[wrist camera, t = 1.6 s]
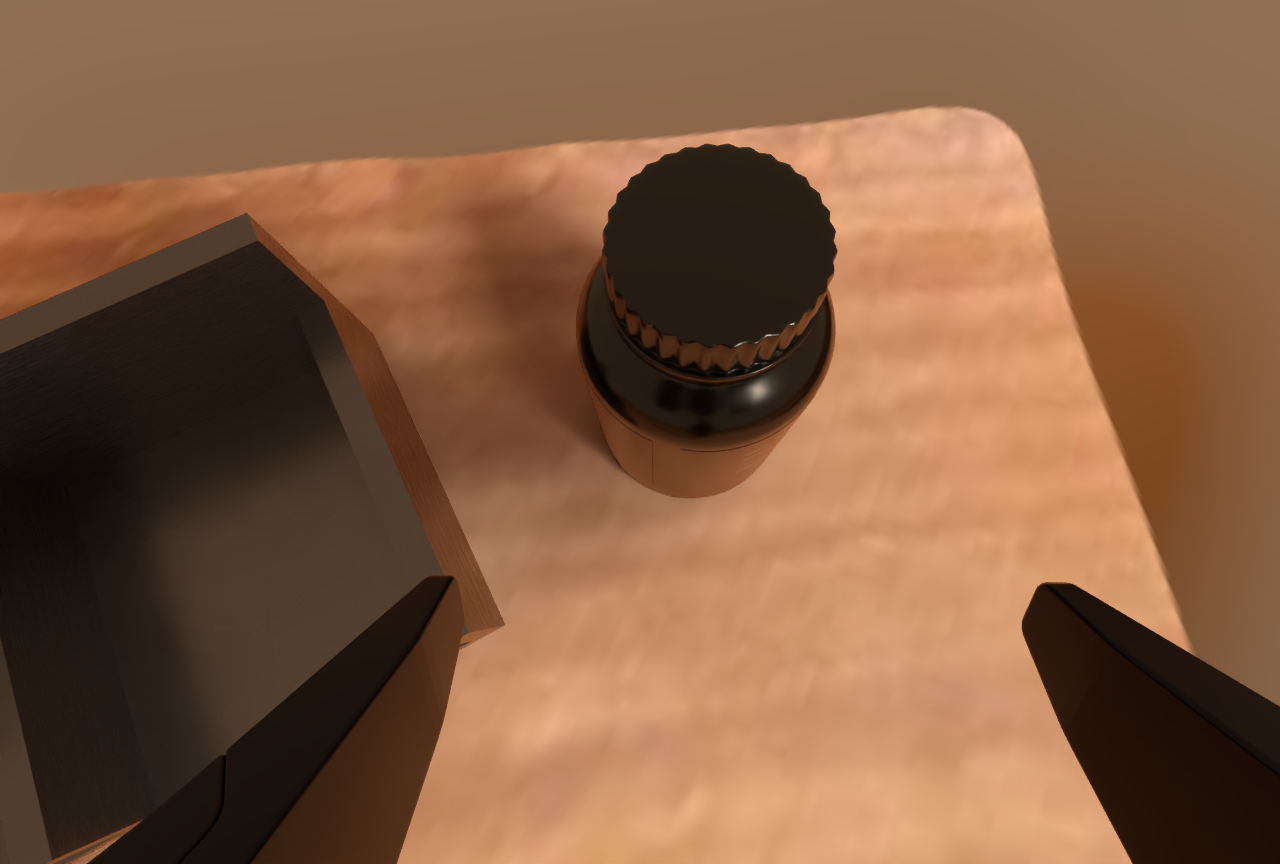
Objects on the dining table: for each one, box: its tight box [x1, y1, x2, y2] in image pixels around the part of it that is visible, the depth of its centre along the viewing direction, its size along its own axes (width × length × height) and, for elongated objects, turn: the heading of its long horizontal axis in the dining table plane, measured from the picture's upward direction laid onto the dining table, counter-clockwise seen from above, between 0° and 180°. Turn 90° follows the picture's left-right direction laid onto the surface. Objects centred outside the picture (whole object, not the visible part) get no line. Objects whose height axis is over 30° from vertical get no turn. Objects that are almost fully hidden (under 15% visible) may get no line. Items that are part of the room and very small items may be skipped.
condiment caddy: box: [0, 213, 505, 864], centre depth 18 cm, size 13×22×8 cm, turn 118°
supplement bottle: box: [576, 144, 837, 498], centre depth 18 cm, size 7×7×12 cm
